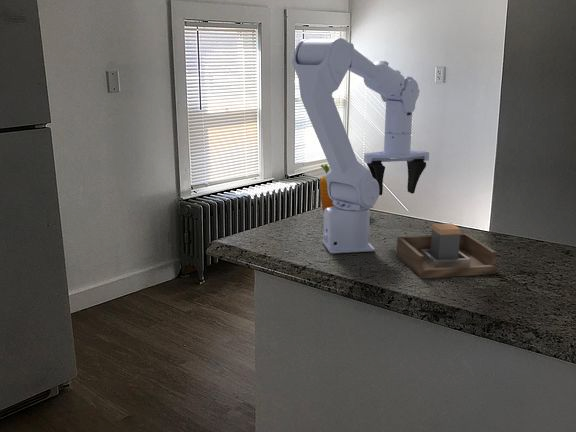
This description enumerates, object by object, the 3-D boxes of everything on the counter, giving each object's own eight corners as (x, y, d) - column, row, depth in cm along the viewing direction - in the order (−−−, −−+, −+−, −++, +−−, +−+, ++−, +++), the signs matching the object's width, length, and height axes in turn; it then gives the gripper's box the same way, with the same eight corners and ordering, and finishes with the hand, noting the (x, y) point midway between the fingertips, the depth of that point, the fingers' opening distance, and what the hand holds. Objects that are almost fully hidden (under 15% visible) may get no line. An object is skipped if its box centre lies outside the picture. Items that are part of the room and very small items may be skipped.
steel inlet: (434, 268, 116) (434, 261, 116) (420, 256, 123) (420, 249, 123) (470, 266, 117) (470, 259, 117) (454, 254, 124) (454, 247, 124)
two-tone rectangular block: (438, 264, 118) (440, 229, 116) (430, 258, 122) (432, 224, 120) (457, 263, 119) (460, 228, 117) (449, 257, 123) (451, 223, 121)
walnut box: (420, 278, 113) (421, 257, 112) (396, 255, 125) (397, 236, 124) (496, 273, 115) (498, 253, 114) (465, 251, 128) (467, 233, 127)
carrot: (325, 225, 147) (327, 163, 143) (315, 220, 151) (316, 160, 147) (343, 223, 149) (345, 161, 145) (332, 218, 153) (334, 158, 149)
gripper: (373, 136, 129) (370, 199, 133) (436, 133, 132) (432, 195, 136) (361, 131, 136) (359, 192, 139) (422, 129, 139) (419, 188, 142)
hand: (395, 193), depth 138 cm, fingers open, 7 cm apart
